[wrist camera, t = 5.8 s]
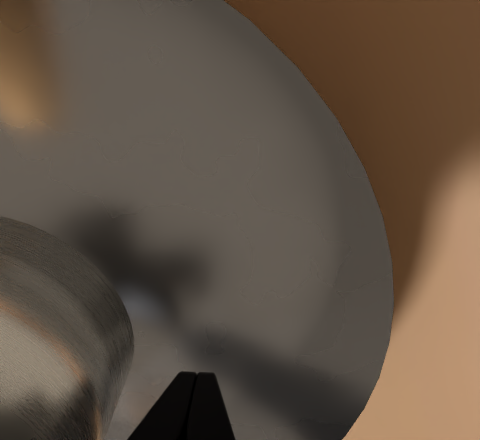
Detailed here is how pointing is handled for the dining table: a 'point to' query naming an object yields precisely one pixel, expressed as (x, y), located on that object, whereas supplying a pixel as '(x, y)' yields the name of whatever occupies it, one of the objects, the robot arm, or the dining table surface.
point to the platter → (201, 204)
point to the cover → (57, 340)
